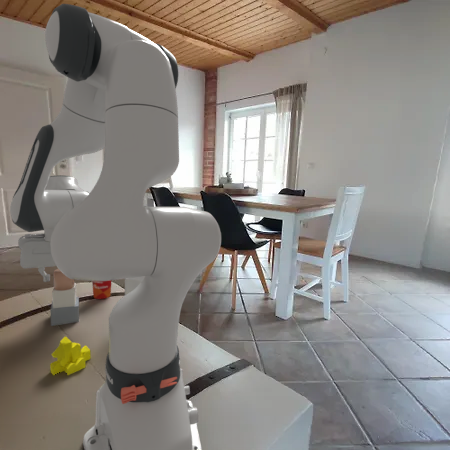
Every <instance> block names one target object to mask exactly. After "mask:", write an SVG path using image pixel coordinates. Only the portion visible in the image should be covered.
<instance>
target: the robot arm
mask: <svg viewBox="0 0 450 450" xmlns="http://www.w3.org/2000/svg"><path fill="white" fill-rule="evenodd" d="M44 37H45V39H44V40H45V45H46V50H47V54H48V58H49V62H50V63H51V65H52V66H53V67H54V68H55V70H56V71H57V72H58V73H60V74H62V75H63V76H65V77H67V80H66V84H65V87H64V89H65V90H64V94H63V99H62V105H61V108H60V110H59V113H58V114H57V116H56V117H55V119H54V120H53V121H52V122H51V123H49V124H47V125H44V126H42V127H41V128H40V129H39V130H38V132H37V135H36V136H35V139H34V142H33V144H32V147H31V150H30V152H29V155H28V158H27V162H26V164H25V167H24V171H23V173H22V176H21V178H20V181H19V184H18V187H17V188H16V191H15V192H14V194H13V196H12V199H11V201H10V205H9V212H10V217H11V220H12V223H13V224H14V225H15V226H17V227H18V228H20V229H21V230H24V231H25V232H28V233H26V234H24V235H22V236H20V237H19V238H18V248H19V249H20V250H21V251H20V258H19V259H20V260H19V265H20V267H21V268H22V269H35V268H37V270H38V273H39V274H40V275H41V276H42V278H43V280H42V281H43V283H47V282H50V281H51V274H50V273H47V272H46V271H45V269H46V268H47V267H50V268H51V267H57V269H59V270H60V271H61V272H62V273H63V274H64V275H65V276H67V277H68V278H70V279H74V280H78V281H91V282H92V281H110V280H112V281H115V280H117V281H118V280H125V278H133V277H141V276H145V277H144V279H143V280H142V282H141V283H140V284H139V285H138V286H137V287H136V288H135V289H134V290H133V291H131V292H130V293H128V294H127V295H125V294H124V296H122V297H121V298H120V299H119V300H118V301H117V302H116V303H115V305H114V307H112V310H111V312H110V314H109V318H108V352H107V355H106V360H105V367H104V370H105V380H104V382H103V384H102V385H101V386H100V387H99V388H98V389H97V391H96V393H95V395H96V398H95V424H94V425H92V427H90V429H88V430H87V431H86V432H85V433H84V435H83V438H82V439H83V440H82V444H83V448H84V450H203V447H202V443H201V438H200V433H199V428H198V423H199V411H198V407H197V406H194V404H193V402H192V401H191V400H189V399H187V395H190V394H191V391H190V390H191V389H190V388H191V387H190V385H185V383H184V378H183V377H184V375H183V373H184V368H183V369H182V368H181V356H180V350H179V346H178V334H179V323H180V315H181V310H182V306H183V303H184V301H185V298H186V297H187V294H188V292H189V290H190V288H191V287H192V285H193V283H194V282H195V281H196V280H197V278H198V276H199V275H200V274H201V273H202V272H203V271H204V270H205V268H207V267H208V266H209V265H210V264H212V263H213V262H214V261H215V259H216V258H217V256H218V255H219V252H220V250H221V245H222V232H221V228H220V225H219V223H218V222H217V220H216V218H215V217H214V216H213V215H212V214H211V213H210V212H208V211H205V210H201V209H196V208H192V207H188V206H187V207H185V206H146V205H144V203H145V201H144V200H145V196H146V193H147V191H148V189H150V188H151V187H154V186H157V185H159V184H160V183H162V182H165V181H166V180H168V179H169V178H171V177H172V176H173V175H174V173H176V171H177V169H178V167H179V163H180V144H179V143H180V141H179V140H180V139H179V136H180V135H179V134H180V133H179V111H178V110H179V108H178V98H177V96H178V95H177V90H176V89H177V86H178V84H179V83H178V81H179V67H178V62H177V59H176V57H175V56H174V54H172V53H171V51H169V50H168V49H167V48H165V47H164V46H163V45H161V44H159V43H154V42H153V41H151V40H150V39H149V38H147V37H145V36H143V35H142V34H140V33H138V32H137V31H134V30H132V29H130V28H128V26H126V25H124V24H123V23H119V22H118V21H116V20H113V19H110V18H108V17H105V16H102V15H100V14H96V13H93V12H90V11H88V10H87V9H86V8H85V7H81V6H79V5H74V4H70V3H61V4H60V5H58V6H57V7H55V8H54V9H53V10H52V12H51V15H50V17H49V19H48V21H47V24H46V27H45V33H44ZM102 150H104V154H103V163H102V166H101V167H102V168H101V171H100V175H99V176H98V179H97V182H96V183H95V185H94V187H93V188H92V189H91V190H90V192H89V191H85V190H84V189H82V188H81V187H80V185H79V182H78V180H77V178H76V177H74V176H71V175H64V174H63V175H60V174H59V175H51V174H52V171H53V169H54V168H55V167H56V166H57V164H60V163H61V162H63V161H65V160H69V159H71V158H75V157H79V156H83V155H90V154H95V153H98V152H99V151H102ZM38 231H39V232H40V231H44V233H35V234H34V233H33V234H31V233H32V232H38Z"/></svg>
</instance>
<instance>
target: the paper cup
mask: <svg viewBox="0 0 450 450" xmlns="http://www.w3.org/2000/svg"><path fill="white" fill-rule="evenodd" d="M112 281H113V280H110V281H91V283H92V293H93V294H92V295H93V299H95V300H105V299H106V300H107V299H109V298H110V297H111V294H112Z"/></svg>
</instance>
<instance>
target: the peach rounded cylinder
mask: <svg viewBox="0 0 450 450" xmlns="http://www.w3.org/2000/svg"><path fill="white" fill-rule="evenodd" d="M74 283H75V279H70V278H68V277H67V276H65V275H64V274H63V273H62V272H61V271H60V270H59V269H58V268H57V269H54V270H53V289H55V290H68V289H71V288H73V287H74Z"/></svg>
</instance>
